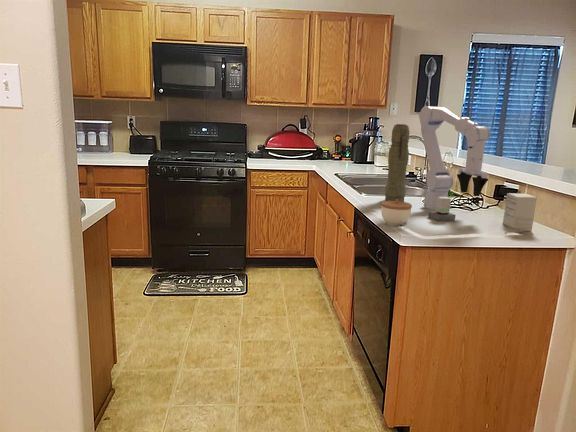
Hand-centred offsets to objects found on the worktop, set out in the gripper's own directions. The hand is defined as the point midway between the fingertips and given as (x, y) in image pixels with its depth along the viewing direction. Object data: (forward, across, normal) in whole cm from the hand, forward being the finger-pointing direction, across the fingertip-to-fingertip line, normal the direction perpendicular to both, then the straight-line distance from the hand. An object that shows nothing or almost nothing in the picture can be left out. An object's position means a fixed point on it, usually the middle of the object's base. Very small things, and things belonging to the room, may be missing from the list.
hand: (469, 194), depth 170 cm
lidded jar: (+11, +2, -32) cm, 34 cm away
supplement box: (+11, +14, +11) cm, 21 cm away
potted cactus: (+11, -38, -11) cm, 41 cm away
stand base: (+10, +1, -12) cm, 16 cm away
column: (+6, +1, -12) cm, 14 cm away
